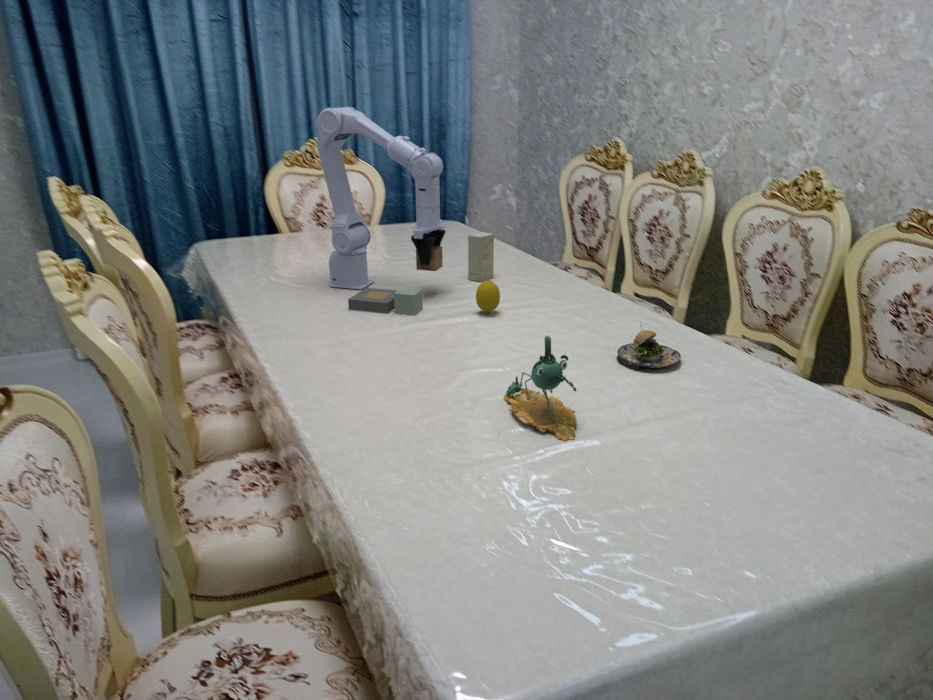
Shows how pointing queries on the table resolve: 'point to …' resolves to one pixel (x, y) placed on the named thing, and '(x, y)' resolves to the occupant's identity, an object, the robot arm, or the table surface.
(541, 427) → the green creature figurine
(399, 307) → the sage cube
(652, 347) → the burger
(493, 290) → the lemon
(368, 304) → the charcoal block
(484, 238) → the skincare box
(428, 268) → the walnut cube
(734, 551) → the table surface
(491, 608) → the table surface
